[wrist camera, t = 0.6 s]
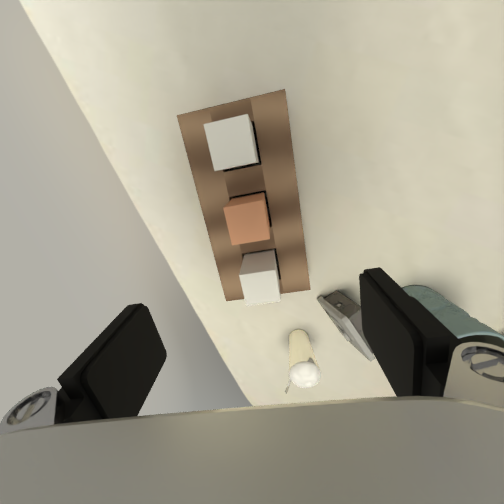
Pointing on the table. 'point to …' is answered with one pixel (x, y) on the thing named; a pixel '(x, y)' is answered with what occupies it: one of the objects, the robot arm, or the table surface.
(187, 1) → the table surface
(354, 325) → the electrical switch
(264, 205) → the terracotta peg
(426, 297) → the teal plant pot
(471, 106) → the table surface
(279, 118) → the socket board
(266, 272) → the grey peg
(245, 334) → the table surface
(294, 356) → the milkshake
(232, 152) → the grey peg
